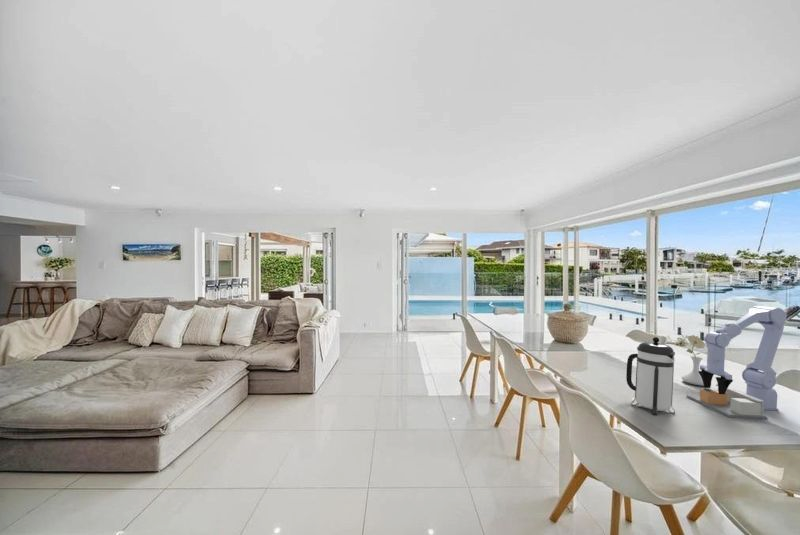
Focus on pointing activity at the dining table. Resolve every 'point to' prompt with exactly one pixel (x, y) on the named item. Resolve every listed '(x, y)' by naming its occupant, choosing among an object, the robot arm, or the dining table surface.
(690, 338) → the flower in vase
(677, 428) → the dining table surface
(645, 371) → the coffee press
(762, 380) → the robot arm
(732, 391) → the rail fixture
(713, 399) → the block
